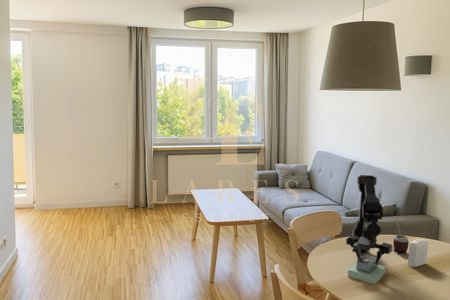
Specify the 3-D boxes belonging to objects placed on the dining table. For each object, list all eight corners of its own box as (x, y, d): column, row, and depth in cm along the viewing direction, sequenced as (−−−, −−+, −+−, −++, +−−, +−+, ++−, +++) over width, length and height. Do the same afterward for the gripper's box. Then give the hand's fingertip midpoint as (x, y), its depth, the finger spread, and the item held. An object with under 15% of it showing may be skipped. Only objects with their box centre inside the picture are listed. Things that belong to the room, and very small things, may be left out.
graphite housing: (364, 262, 199) (365, 252, 198) (378, 266, 195) (378, 256, 195) (356, 269, 191) (356, 259, 191) (369, 273, 188) (370, 263, 187)
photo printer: (419, 260, 210) (421, 236, 208) (427, 263, 207) (430, 238, 205) (406, 265, 205) (408, 239, 203) (414, 268, 201) (417, 242, 199)
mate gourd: (406, 256, 216) (408, 226, 213) (389, 252, 220) (391, 223, 218) (408, 251, 222) (411, 222, 220) (392, 247, 226) (394, 219, 224)
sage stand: (347, 276, 192) (348, 269, 191) (358, 265, 203) (359, 259, 202) (375, 284, 185) (375, 277, 184) (385, 272, 196) (385, 266, 195)
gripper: (342, 229, 190) (340, 263, 192) (386, 238, 179) (383, 274, 181) (351, 222, 198) (349, 255, 201) (394, 231, 188) (391, 266, 190)
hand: (367, 262), depth 193 cm, fingers open, 7 cm apart
